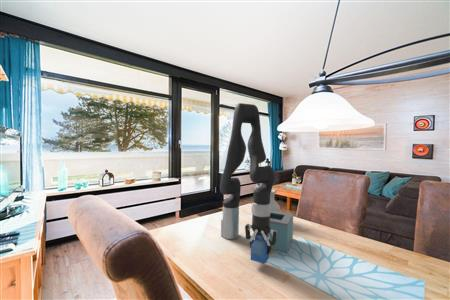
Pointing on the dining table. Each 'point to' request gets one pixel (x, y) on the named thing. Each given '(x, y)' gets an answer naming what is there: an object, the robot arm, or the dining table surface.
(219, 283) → the dining table surface
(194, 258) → the dining table surface
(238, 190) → the robot arm
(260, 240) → the perfume bottle
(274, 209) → the ceramic pitcher
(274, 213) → the box
